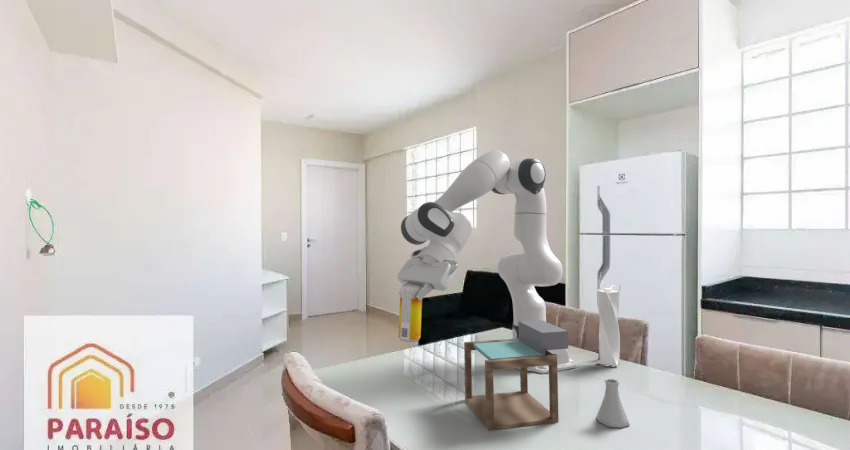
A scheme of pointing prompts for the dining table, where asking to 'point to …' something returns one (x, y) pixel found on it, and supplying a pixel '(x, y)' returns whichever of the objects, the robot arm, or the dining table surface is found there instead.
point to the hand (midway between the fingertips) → (409, 297)
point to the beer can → (410, 313)
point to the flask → (612, 407)
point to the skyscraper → (608, 326)
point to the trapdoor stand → (511, 405)
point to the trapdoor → (527, 341)
